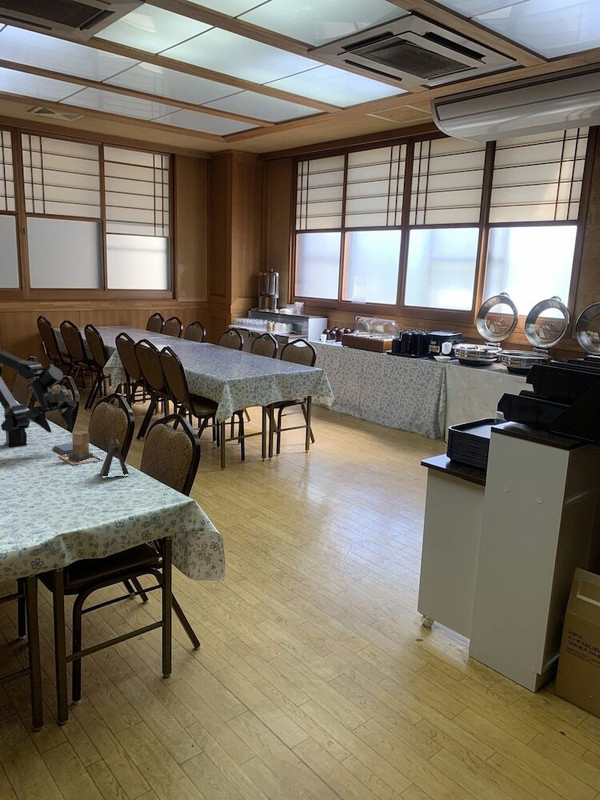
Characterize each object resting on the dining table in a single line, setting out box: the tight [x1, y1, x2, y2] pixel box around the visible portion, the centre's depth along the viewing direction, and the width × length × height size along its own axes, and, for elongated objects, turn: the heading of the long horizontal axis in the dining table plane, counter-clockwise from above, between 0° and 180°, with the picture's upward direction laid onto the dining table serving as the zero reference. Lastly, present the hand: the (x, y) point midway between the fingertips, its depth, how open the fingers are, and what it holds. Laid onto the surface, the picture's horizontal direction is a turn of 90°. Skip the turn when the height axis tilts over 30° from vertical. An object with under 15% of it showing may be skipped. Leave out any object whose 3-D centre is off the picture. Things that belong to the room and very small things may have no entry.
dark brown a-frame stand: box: [100, 438, 130, 477], centre depth 207 cm, size 9×6×12 cm, turn 112°
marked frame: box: [58, 451, 98, 466], centre depth 224 cm, size 12×13×1 cm
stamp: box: [68, 430, 94, 462], centre depth 223 cm, size 6×6×10 cm
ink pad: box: [52, 442, 73, 455], centre depth 234 cm, size 10×10×2 cm
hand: (60, 429), depth 226 cm, fingers open, 9 cm apart
